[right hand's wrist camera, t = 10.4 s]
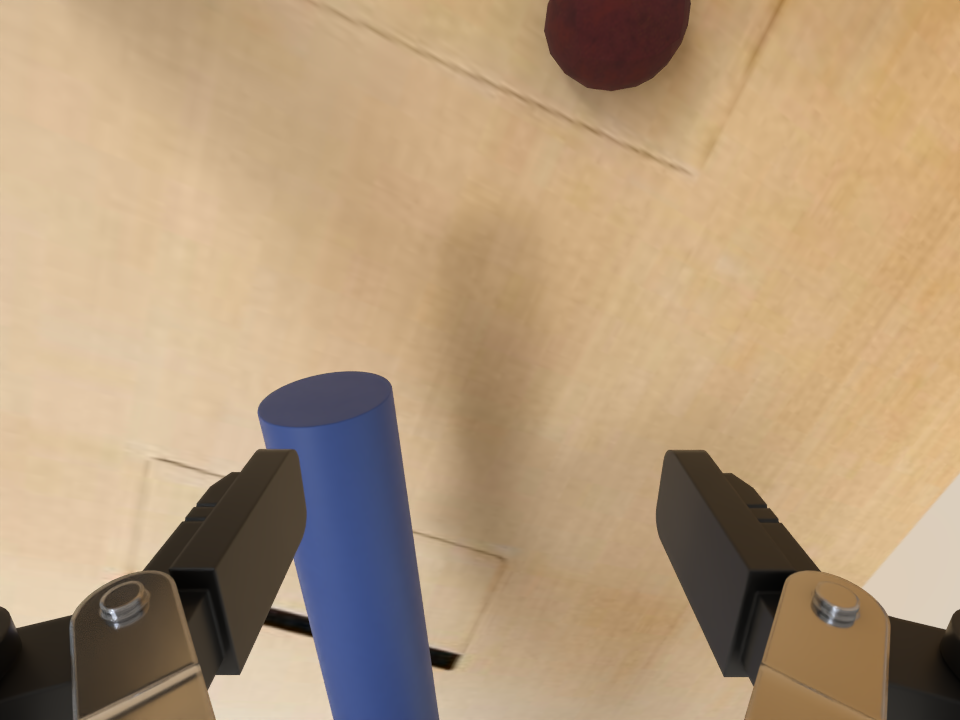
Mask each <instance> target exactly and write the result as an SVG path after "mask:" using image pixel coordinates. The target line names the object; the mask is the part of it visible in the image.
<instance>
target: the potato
mask: <svg viewBox="0 0 960 720" xmlns="http://www.w3.org/2000/svg"><path fill="white" fill-rule="evenodd" d="M690 5H691V3H690V0H550V1H549V3H548V6H547V14H546V21H545V29H544V32H545V36H546V39H547V43H548V47H549V51H550V54H551V55H552V57H553V58H554V59H555V61H556V62H557V63H558V65H559V66H560V68H561V69H562V70H563V72H564V73H565V74H567V75H568V76H570V77H571V78H573V79H574V80H576V81H578V82H579V83H581V84H582V85H584V86H585V87H587V88H592V89H600V90H607V91H614V90H620V89H625V88H630V87H636V86H638V85H640V84H642V83H644V82H646V81H648V80H649V79H651V78H653V77H654V76H655V75H656V74H657V73H658V72H659V71H660V70H662V69H663V68H664V67H665V66H666V65H667V64H668V62H669V61H670V59H671V58H672V56H673V55H674V53H675V52H676V50H677V49H678V47H679V46H680V44H681V42H682V40H683V37H684V34H685V31H686V29H687V26H688V21H689V13H690Z"/></svg>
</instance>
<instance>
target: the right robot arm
mask: <svg viewBox="0 0 960 720" xmlns="http://www.w3.org/2000/svg"><path fill="white" fill-rule="evenodd" d="M306 519H307V510H306V502H305V495H304V488H303V482H302V475H301V468H300V461H299V456H298V453H297V452H296V450H294V449H259V450H257V451H256V452H255V453H254V455H253V456H252V457H251V459H250V460H249V461H248V463H247V464H246V465H245V467H244V468H243V469H242V471H241V472H231V473H230V474H228V475H227V476H225V477H224V478H222V479H221V480H219V481H218V482H217V483H215V484H214V485H212V486H211V487H210V488H209V489H208V490H207V491H206V493H205V494H204V495H203V496H202V498H201V499H200V500H199V501H198V503H197V506H196V507H194V508H193V509H192V510H191V511H190V513H189V514H188V515H187V516H186V518H185V522H182V523H181V524H180V525H179V526H178V528H177V529H176V530H175V531H174V532H173V534H172V535H171V536H170V537H169V539H168V540H167V541H166V542H165V544H164V545H163V546H162V547H161V549H160V550H159V551H158V552H157V554H156V555H155V556H154V557H153V559H152V560H151V561H150V562H149V564H148V565H147V566H146V567H145V569H144V570H143V571H141V572H136V573H131V574H128V575H125V576H122V577H119V578H117V579H115V580H112V581H111V582H109V583H107V584H105V585H103V586H102V587H100V588H98V589H97V590H95V591H94V592H93V593H91V594H90V595H89V596H88V597H87V598H86V599H85V600H83V601H82V602H81V604H80V605H79V606H78V607H77V608H76V610H75V612H74V613H73V615H70V616H66V617H62V618H58V619H54V620H49V621H45V622H41V623H37V624H33V625H28V626H24V627H20V628H16V627H15V625H14V623H13V621H12V618H11V616H10V614H9V612H8V611H7V610H6V609H5V608H3V607H0V720H216V719H215V715H214V712H213V709H212V705H211V702H210V698H209V695H208V689H209V687H210V685H211V683H212V681H213V679H214V677H215V675H240V674H241V671H242V669H243V667H244V665H245V663H246V660H247V658H248V656H249V654H250V652H251V650H252V647H253V645H254V643H255V641H256V639H257V636H258V634H259V632H260V630H261V628H262V626H263V623H264V621H265V619H266V617H267V615H268V612H269V610H270V608H271V606H272V604H273V602H274V599H275V597H276V595H277V593H278V591H279V588H280V586H281V584H282V582H283V580H284V578H285V575H286V573H287V571H288V569H289V567H290V564H291V562H292V560H293V558H294V556H295V554H296V551H297V549H298V547H299V545H300V543H301V540H302V538H303V535H304V532H305V527H306ZM656 524H657V530H658V534H659V537H660V540H661V542H662V544H663V546H664V549H665V551H666V553H667V555H668V557H669V559H670V562H671V564H672V566H673V568H674V570H675V572H676V574H677V577H678V579H679V581H680V583H681V585H682V587H683V590H684V592H685V594H686V596H687V598H688V600H689V603H690V605H691V607H692V609H693V611H694V613H695V615H696V618H697V620H698V622H699V624H700V626H701V628H702V631H703V633H704V635H705V637H706V639H707V641H708V643H709V646H710V648H711V650H712V652H713V654H714V656H715V659H716V661H717V663H718V665H719V667H720V669H721V672H722V674H723V676H724V677H749V678H750V680H751V682H752V684H753V686H754V688H753V691H752V695H751V698H750V702H749V705H748V709H747V712H746V715H745V719H744V720H960V610H957V611H956V612H955V613H954V614H953V616H952V618H951V620H950V623H949V625H948V627H947V629H946V630H945V629H941V628H936V627H932V626H928V625H924V624H919V623H915V622H911V621H907V620H902V619H898V618H895V617H891V616H888V615H887V613H886V612H885V610H884V608H883V607H882V606H881V605H880V604H879V602H877V601H876V600H875V599H874V598H873V597H872V596H871V595H870V594H869V593H867V592H866V591H865V590H863V589H862V588H860V587H858V586H857V585H855V584H853V583H851V582H849V581H847V580H845V579H843V578H841V577H838V576H835V575H832V574H829V573H824V572H821V571H820V570H819V569H818V567H817V566H816V565H815V564H814V562H813V561H812V560H811V559H810V557H809V556H808V555H807V554H806V553H805V551H804V550H803V549H802V548H801V546H800V545H799V544H798V543H797V541H796V540H795V539H794V538H793V536H792V535H791V534H790V533H789V532H788V530H787V529H786V528H785V527H784V525H783V524H782V523H779V521H778V518H777V517H776V515H775V514H774V513H773V512H772V511H771V509H770V508H767V504H766V503H765V502H764V501H763V499H762V498H761V497H760V496H759V495H758V493H757V492H756V491H755V490H754V488H753V487H751V486H750V485H748V484H747V483H745V482H744V481H742V480H741V479H739V478H738V477H736V476H735V475H733V474H732V473H722V471H721V470H720V469H719V467H718V466H717V465H716V463H715V462H714V461H713V460H712V458H711V457H710V456H709V454H708V453H707V452H706V451H705V450H668V451H667V452H666V454H665V457H664V461H663V467H662V474H661V481H660V487H659V494H658V501H657V507H656Z"/></svg>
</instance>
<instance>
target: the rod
mask: <svg viewBox="0 0 960 720" xmlns="http://www.w3.org/2000/svg"><path fill="white" fill-rule="evenodd" d="M258 417H259V421H260V425H261V429H262V433H263V437H264V441H265V445H266V449H294V450H296V452H297V453H298V456H299V461H300V468H301V475H302V482H303V488H304V495H305V502H306V510H307V519H306V527H305V532H304V535H303V538H302V540H301V543H300V545H299V547H298V549H297V551H296V554H295V556H294V562H295V566H296V570H297V574H298V578H299V582H300V586H301V590H302V594H303V598H304V602H305V606H306V610H307V614H308V618H309V622H310V626H311V630H312V634H313V638H314V642H315V646H316V650H317V654H318V658H319V663H320V667H321V671H322V675H323V679H324V683H325V687H326V691H327V695H328V699H329V703H330V707H331V711H332V715H333V719H334V720H439V715H438V708H437V700H436V693H435V686H434V679H433V672H432V665H431V658H430V651H429V644H428V637H427V630H426V623H425V616H424V609H423V602H422V595H421V588H420V581H419V574H418V567H417V560H416V553H415V546H414V539H413V532H412V525H411V518H410V511H409V504H408V497H407V490H406V483H405V475H404V468H403V461H402V454H401V447H400V440H399V433H398V426H397V419H396V412H395V405H394V398H393V391H392V386H391V384H390V382H389V381H388V380H387V379H385V378H384V377H382V376H379V375H376V374H373V373H367V372H357V371H347V372H334V373H326V374H321V375H316V376H312V377H308V378H304V379H301V380H298V381H295V382H293V383H290V384H288V385H285V386H283V387H281V388H279V389H277V390H276V391H274V392H272V393H271V394H270V395H268V396H267V397H266V398H265V399H264V400H263V401H262V402H261V403H260V405H259V407H258Z"/></svg>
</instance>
